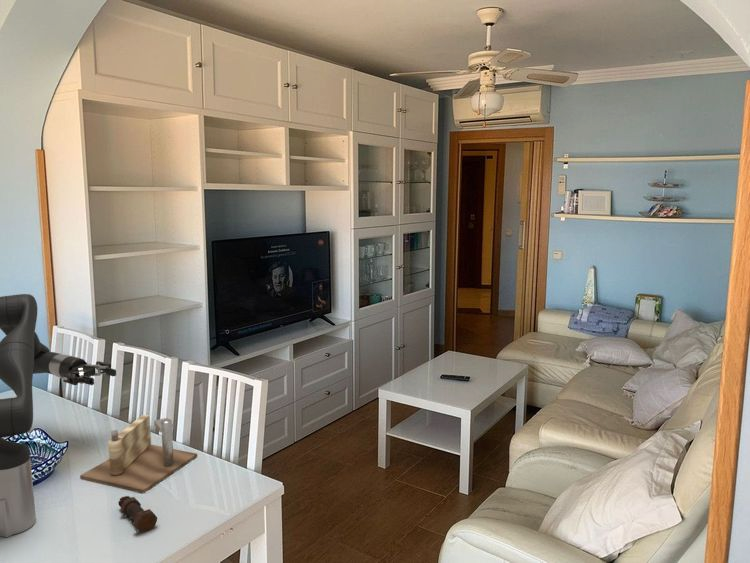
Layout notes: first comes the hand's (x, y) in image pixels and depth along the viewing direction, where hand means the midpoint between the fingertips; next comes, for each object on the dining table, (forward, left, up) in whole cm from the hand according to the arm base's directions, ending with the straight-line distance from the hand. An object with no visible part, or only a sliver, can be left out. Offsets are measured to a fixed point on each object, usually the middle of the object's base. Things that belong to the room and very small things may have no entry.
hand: (104, 377), depth 185 cm
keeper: (-1, -24, -24) cm, 33 cm away
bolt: (-28, -36, -25) cm, 52 cm away
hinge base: (-5, -18, -25) cm, 31 cm away
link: (-4, -13, -23) cm, 27 cm away
